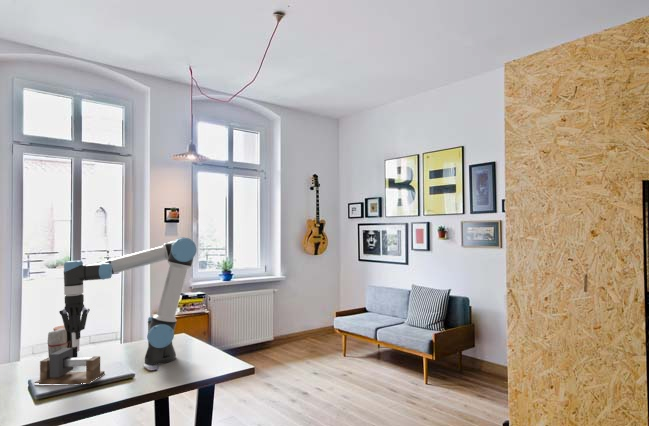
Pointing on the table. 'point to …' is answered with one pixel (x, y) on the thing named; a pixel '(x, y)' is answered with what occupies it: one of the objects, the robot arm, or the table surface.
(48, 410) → the table surface
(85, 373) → the pipe stand
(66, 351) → the tall grey notched block
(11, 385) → the table surface
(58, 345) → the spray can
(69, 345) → the coffee jar
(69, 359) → the light grey long bar
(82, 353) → the table surface
